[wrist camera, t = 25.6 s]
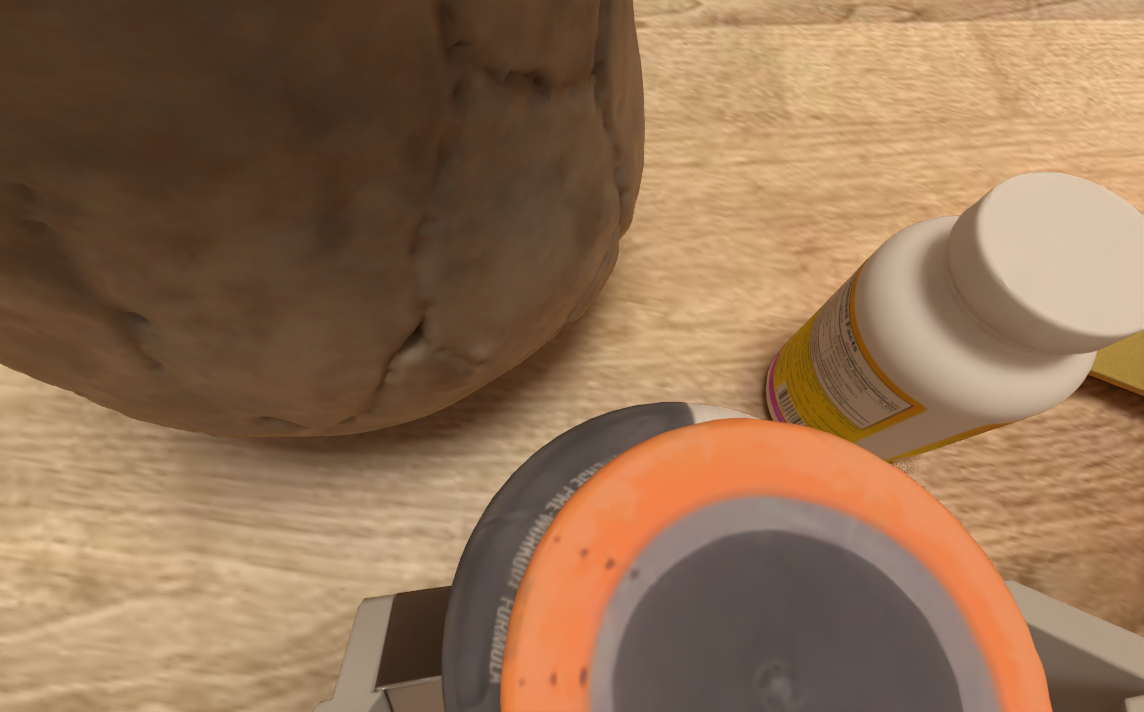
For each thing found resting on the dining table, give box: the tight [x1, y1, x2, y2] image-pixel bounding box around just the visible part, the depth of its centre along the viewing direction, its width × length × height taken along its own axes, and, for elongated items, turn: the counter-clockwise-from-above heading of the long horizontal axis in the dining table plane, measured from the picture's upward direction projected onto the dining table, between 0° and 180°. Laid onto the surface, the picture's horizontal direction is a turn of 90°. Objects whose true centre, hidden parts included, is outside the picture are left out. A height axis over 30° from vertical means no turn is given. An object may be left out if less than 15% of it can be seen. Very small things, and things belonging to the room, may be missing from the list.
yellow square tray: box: [1088, 330, 1144, 396], centre depth 26 cm, size 9×9×2 cm
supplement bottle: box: [766, 172, 1144, 464], centre depth 19 cm, size 7×7×13 cm
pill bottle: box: [441, 402, 1053, 712], centre depth 9 cm, size 6×6×11 cm
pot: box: [0, 0, 645, 438], centre depth 18 cm, size 25×24×21 cm
